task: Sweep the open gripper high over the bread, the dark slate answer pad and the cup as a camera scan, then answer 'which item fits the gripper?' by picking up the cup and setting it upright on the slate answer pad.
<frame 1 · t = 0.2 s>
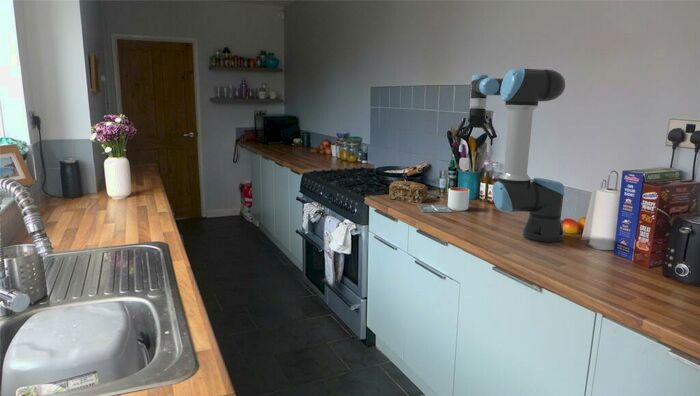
hand: (474, 152, 229), 28 cm above the worktop, fingers open, 13 cm apart
cup: (457, 209, 232), on the worktop
answer pad: (434, 209, 231), on the worktop
bread: (408, 200, 252), on the worktop
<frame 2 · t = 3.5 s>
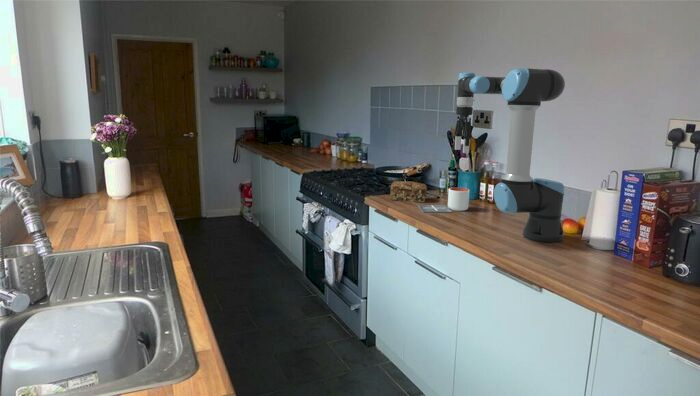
hand: (461, 151, 226), 29 cm above the worktop, fingers open, 13 cm apart
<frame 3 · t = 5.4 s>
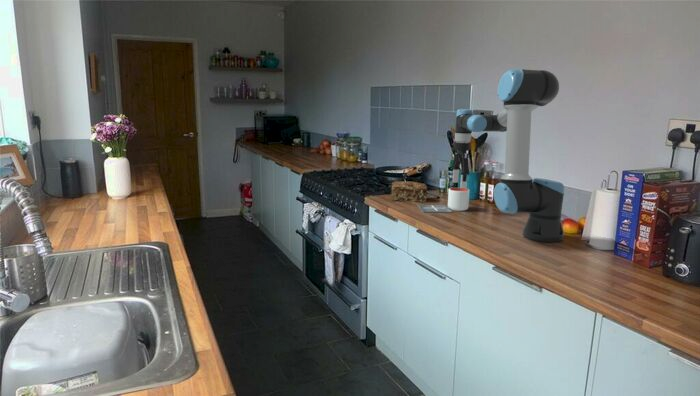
hand: (459, 185, 230), 12 cm above the worktop, fingers open, 13 cm apart
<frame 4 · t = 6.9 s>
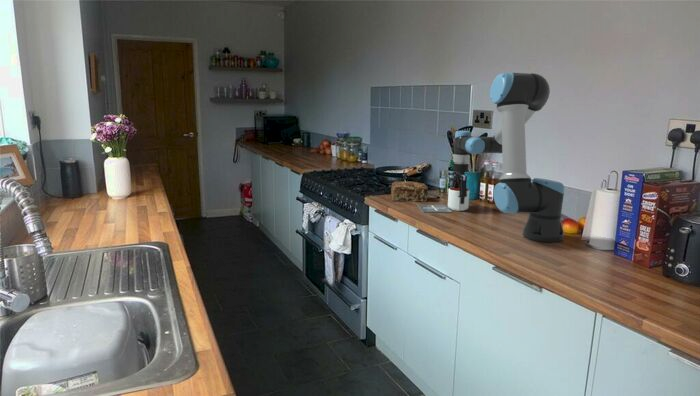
hand: (457, 207, 232), 1 cm above the worktop, fingers closed on cup, 10 cm apart
cup: (457, 209, 232), on the worktop, touching gripper
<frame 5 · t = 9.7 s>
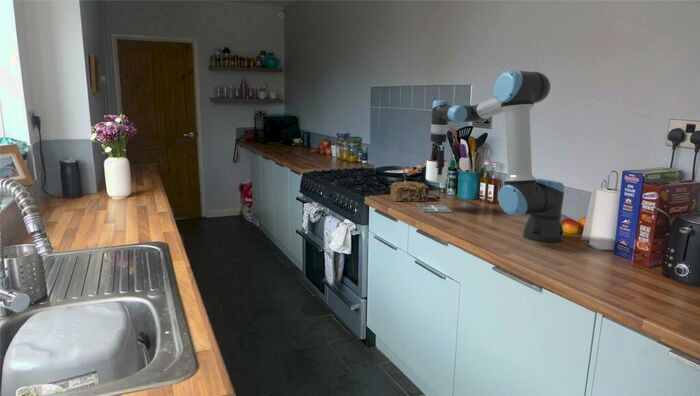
hand: (436, 179, 227), 15 cm above the worktop, fingers closed on cup, 10 cm apart
cup: (436, 181, 228), point 14 cm above the worktop, touching gripper
when the fingers open (2 cm above the worktop, at t = 12.4 s): cup stays where it is, resting on answer pad.
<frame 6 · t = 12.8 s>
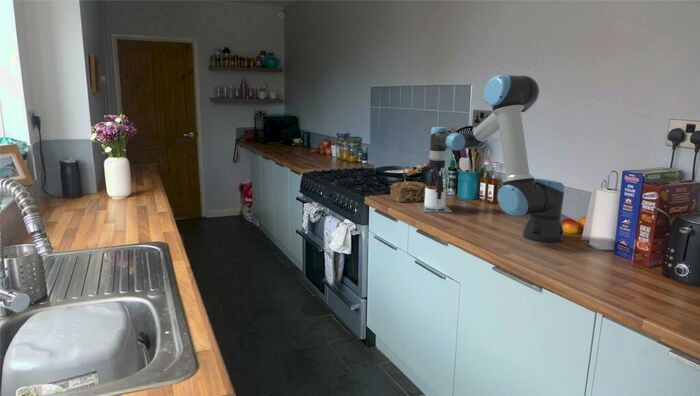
hand: (434, 202, 230), 4 cm above the worktop, fingers open, 13 cm apart
cup: (434, 208, 230), point 1 cm above the worktop, touching answer pad
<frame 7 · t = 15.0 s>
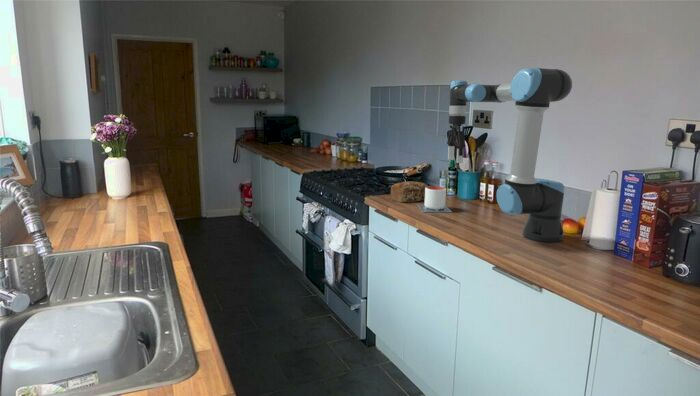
hand: (455, 161, 219), 25 cm above the worktop, fingers open, 13 cm apart
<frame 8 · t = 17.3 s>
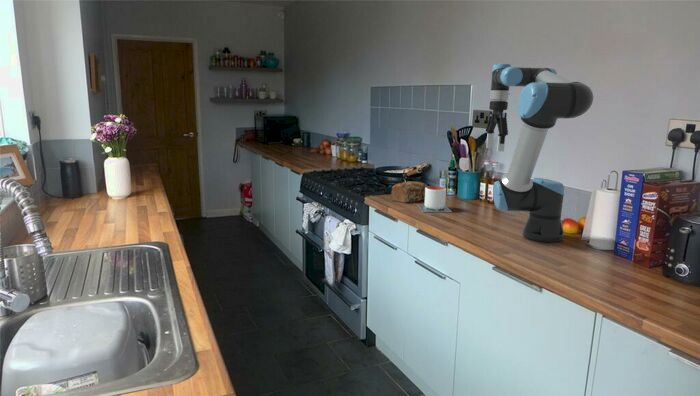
hand: (494, 149, 208), 32 cm above the worktop, fingers open, 13 cm apart
at the end: cup inside the target area on the answer pad (0.1 cm from its centre), point 0.5 cm above the answer pad's base; cup tilted 0°; bread moved 0.9 cm from its start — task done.
